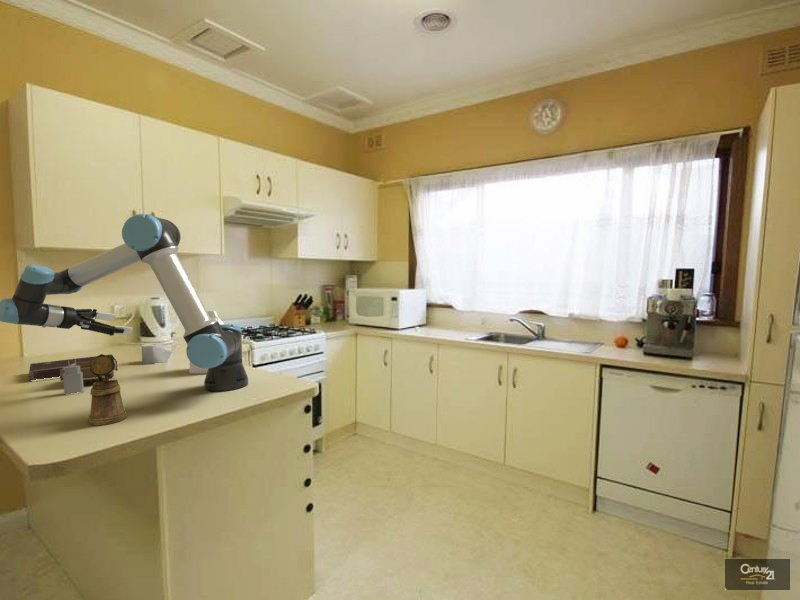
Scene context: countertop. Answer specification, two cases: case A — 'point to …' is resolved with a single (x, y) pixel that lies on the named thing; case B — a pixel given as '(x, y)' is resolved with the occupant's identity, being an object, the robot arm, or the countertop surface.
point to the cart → (86, 370)
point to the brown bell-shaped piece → (105, 394)
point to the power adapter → (73, 379)
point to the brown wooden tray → (55, 367)
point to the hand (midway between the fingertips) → (122, 324)
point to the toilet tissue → (154, 353)
